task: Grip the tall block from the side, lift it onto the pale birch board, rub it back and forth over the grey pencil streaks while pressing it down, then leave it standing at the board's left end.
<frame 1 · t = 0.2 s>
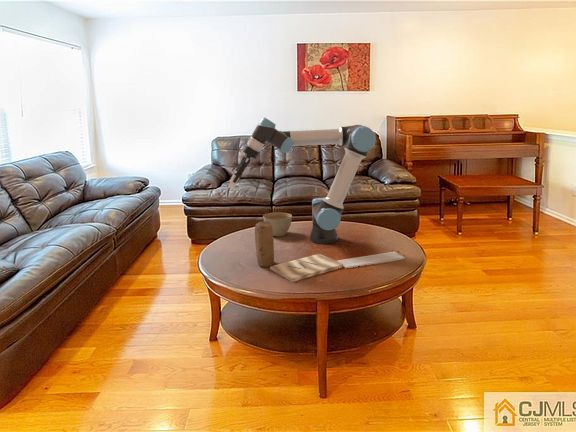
hand: (230, 185, 226), 35 cm above the table, tool tilted 35°, fingers open, 13 cm apart
block: (265, 264, 219), on the table
planter bowl: (278, 234, 264), on the table
baseboard: (369, 261, 220), on the table
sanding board: (306, 268, 211), on the table
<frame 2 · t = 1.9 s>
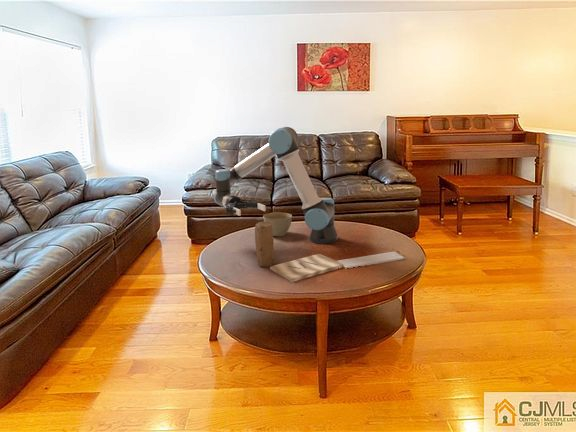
hand: (252, 210, 221), 24 cm above the table, tool horizontal, fingers open, 13 cm apart
nothing on the table moved.
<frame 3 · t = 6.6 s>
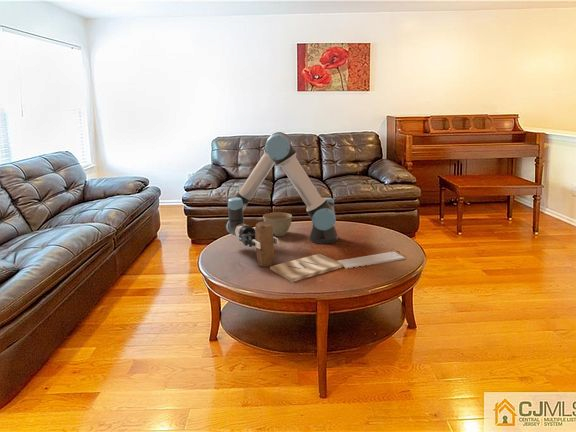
hand: (268, 243, 212), 11 cm above the table, tool horizontal, fingers closed on block, 9 cm apart
block: (265, 264, 219), on the table, touching gripper
everything else where it was.
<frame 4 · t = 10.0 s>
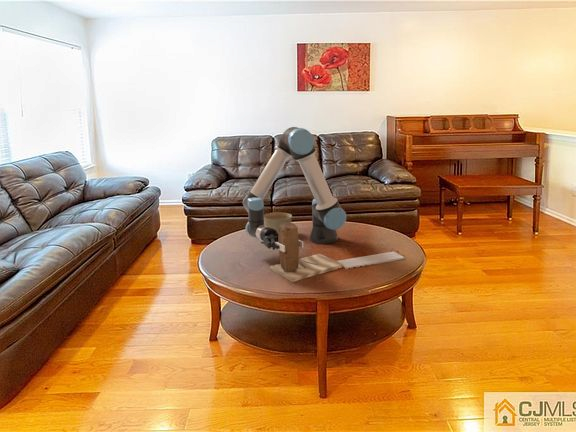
hand: (293, 246, 200), 13 cm above the table, tool horizontal, fingers closed on block, 9 cm apart
block: (288, 268, 207), point 2 cm above the table, touching gripper
everything else where it was.
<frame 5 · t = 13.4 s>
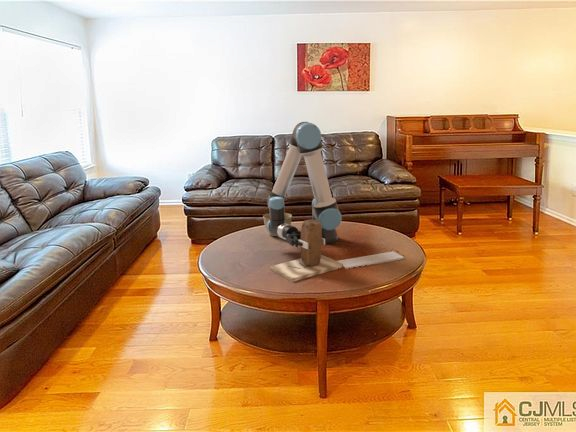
hand: (316, 244, 207), 12 cm above the table, tool horizontal, fingers closed on block, 9 cm apart
block: (309, 263, 213), point 2 cm above the table, touching gripper
everything else where it was.
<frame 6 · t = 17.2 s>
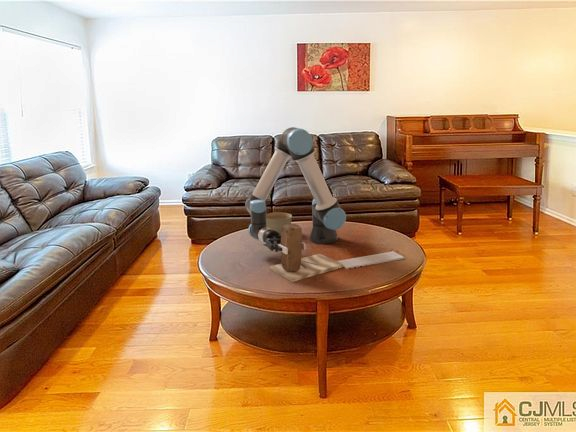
hand: (296, 249, 201), 12 cm above the table, tool horizontal, fingers closed on block, 9 cm apart
block: (289, 268, 207), point 2 cm above the table, touching gripper
everything else where it was.
when the fingers open (12 cm above the table, at t = 20.3 s): block stays where it is, resting on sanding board.
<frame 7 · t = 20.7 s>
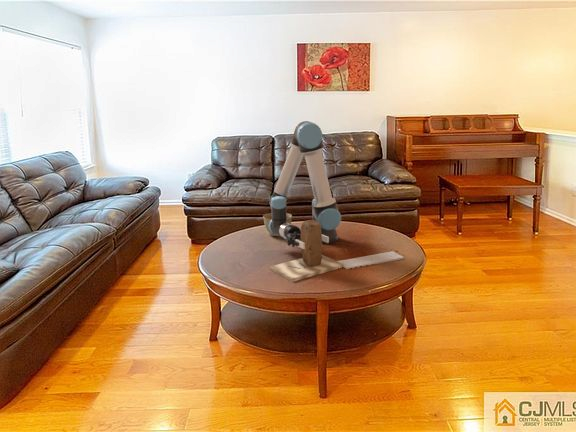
hand: (316, 242, 209), 12 cm above the table, tool horizontal, fingers open, 13 cm apart
block: (311, 263, 213), point 1 cm above the table, touching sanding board
everything else where it was.
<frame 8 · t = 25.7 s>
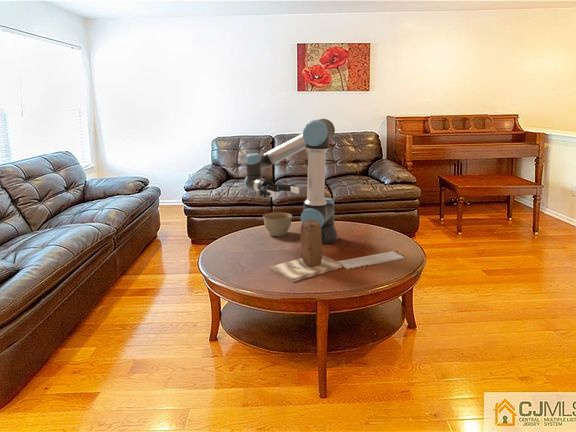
hand: (286, 193, 219), 32 cm above the table, tool horizontal, fingers open, 13 cm apart
nothing on the table moved.
at the end: block inside the target area (0.4 cm from its centre), point 1.3 cm above the table; block tilted 0°; the gripper is holding nothing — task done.
